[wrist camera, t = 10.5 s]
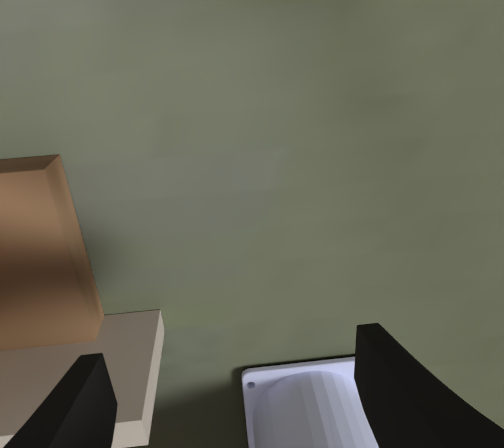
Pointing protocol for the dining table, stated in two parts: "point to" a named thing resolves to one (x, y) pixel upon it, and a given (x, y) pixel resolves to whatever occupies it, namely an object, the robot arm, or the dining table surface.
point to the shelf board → (119, 368)
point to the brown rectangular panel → (43, 259)
